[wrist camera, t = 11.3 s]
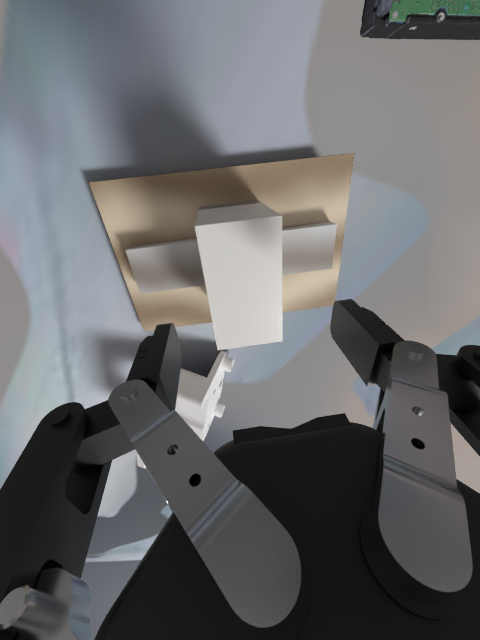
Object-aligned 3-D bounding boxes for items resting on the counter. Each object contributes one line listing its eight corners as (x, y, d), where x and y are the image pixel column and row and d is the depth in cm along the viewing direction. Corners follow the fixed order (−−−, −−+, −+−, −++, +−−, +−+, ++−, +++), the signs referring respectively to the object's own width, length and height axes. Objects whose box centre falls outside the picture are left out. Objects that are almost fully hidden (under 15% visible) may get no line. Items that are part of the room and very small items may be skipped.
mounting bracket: (190, 335, 31) (132, 395, 22) (237, 350, 30) (196, 421, 20) (185, 400, 37) (138, 468, 28) (223, 415, 36) (188, 492, 27)
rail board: (93, 181, 20) (80, 183, 17) (348, 153, 20) (364, 152, 18) (145, 326, 27) (140, 339, 25) (330, 301, 28) (340, 311, 26)
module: (199, 207, 20) (194, 226, 14) (258, 200, 21) (282, 215, 14) (215, 301, 25) (217, 350, 19) (262, 295, 25) (282, 341, 19)
